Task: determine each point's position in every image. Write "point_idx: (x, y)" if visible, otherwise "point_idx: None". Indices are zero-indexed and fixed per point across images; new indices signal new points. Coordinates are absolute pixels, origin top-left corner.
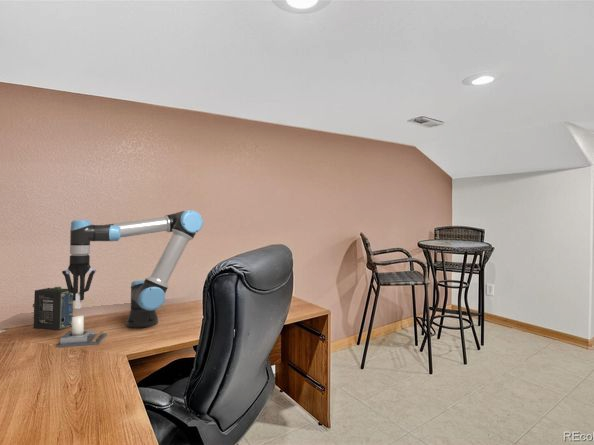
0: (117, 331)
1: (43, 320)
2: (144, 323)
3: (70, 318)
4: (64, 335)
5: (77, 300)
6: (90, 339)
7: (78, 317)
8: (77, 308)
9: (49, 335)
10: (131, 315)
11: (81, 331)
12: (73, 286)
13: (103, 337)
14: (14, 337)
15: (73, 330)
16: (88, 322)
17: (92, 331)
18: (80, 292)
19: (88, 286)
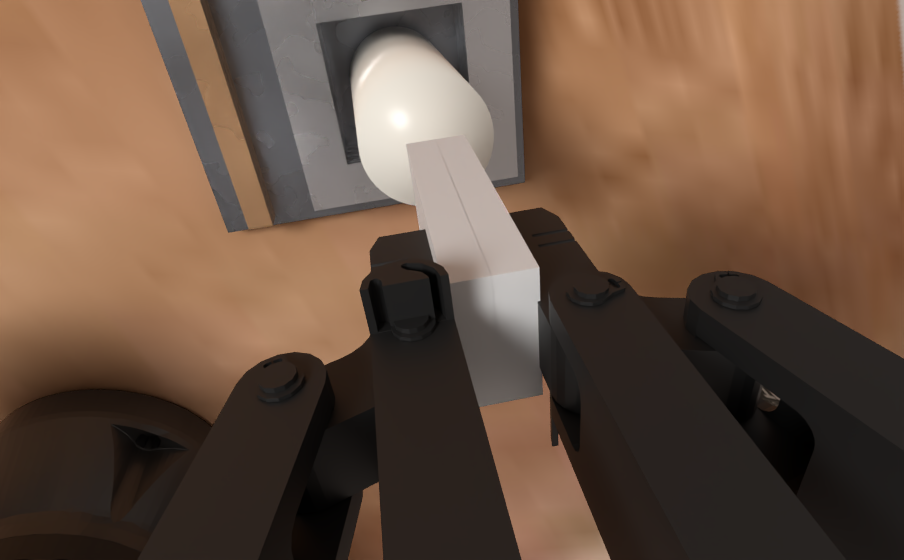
0: (203, 315)
1: (775, 398)
2: (15, 424)
3: None
4: (503, 33)
5: (457, 194)
6: (270, 53)
7: (392, 86)
8: (431, 140)
9: (668, 241)
10: (139, 490)
11: (356, 69)
12: (720, 415)
13: (187, 121)
14: (868, 210)
15: (428, 45)
16: (520, 475)
17: (301, 161)
18: (408, 279)
19: (166, 519)
